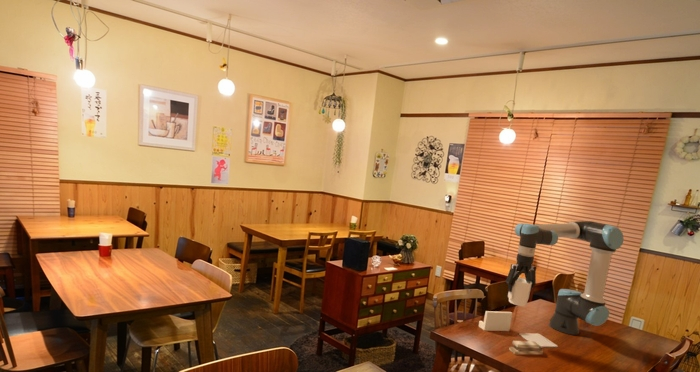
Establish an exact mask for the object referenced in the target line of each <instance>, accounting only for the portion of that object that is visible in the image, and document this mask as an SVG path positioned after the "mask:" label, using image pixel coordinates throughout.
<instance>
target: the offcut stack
mask: <svg viewBox="0 0 700 372" xmlns="http://www.w3.org/2000/svg"><path fill="white" fill-rule="evenodd" d="M511 343H512V345H513V346H509V348H508V350H509V351H510V352H511V353H512V352H513V353H512V354H514V355H543V353H544V351H543V347H541V346H540V345H538V344H537V343H536V342H533V341H528V340H512V342H511Z"/></svg>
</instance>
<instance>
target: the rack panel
mask: <svg viewBox="0 0 700 372" xmlns="http://www.w3.org/2000/svg"><path fill="white" fill-rule="evenodd" d="M512 319H513V312H511V311H497V310H495V311H491V310H490V311H489V310H485V313H484V318H483V320H479V322H478V327H479V328H480V329H482V330H483V331H484V332H485V331H488V332H490V331H492V332H493V331H494V332H496V331H497V332H500V331H501V332H502V331H503V332H510V329H511V324H512Z"/></svg>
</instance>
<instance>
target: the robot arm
mask: <svg viewBox="0 0 700 372" xmlns="http://www.w3.org/2000/svg"><path fill="white" fill-rule="evenodd" d="M514 233H515V235H516V236H517V237H519V242H518V243H519V244H518V248H517V255H516V264H513V263H512V264H510V268H509V272H508V275H507V276H506V279H505V283H506V284H507V285H508V286H507V287H508V288H507V291H508V293H507V298H508V299H509V298H510V299H513V294H514V288H515V286H513V285H514V284H515V281H517V279H518V277H519V278H520V276H521V275H522V274H524V279H526V282H527V283H529V284H530V281H531V282H532V285H531V289H530V293H531V292H532V288H534V287H535V286H536V285H537V284H536V283H537V282H536V271H537V266H534V265H533V263H534V259H535V257H534V256H535V252H536V247H537V245H544V246H545V245H546V246H554V245H557V243H558V241H559V238H570V239H572V240H575V239H577V240H581V241H585V242H588V243H589V248H590V250H591V254H590V261H589V264H588V271H587V275H586V281H585V285H584V292H583V293H582V292H581V291H578V290H574V289H569V288H560V289H559V290H558V294H557V297H556V303H555V309H554V313H553V314H552V316H551V317H550V319H549V322H548V325H549V327H550V328H552V329H554V330H556V331H558V332H561V333H564V334H567V335H572V336H576V335H579V333H580V328H579V321H578V319H580V320H582V321H584V322H586V323H587V324H590V325H592V326H595V327H597V326H601V325H603V324H604V323H606V322H607V320H608V318H609V316H610V310H609V308H608V307H607V306H606V303H607V302H606V300H605V299H604V295H605V289H606V283H607V278H608V274H609V268H610V264H611V263H610V262H611V257H612V255H613V254H615V253H616V250H618V249H620V248H621V247H622V245H623V244H624V234H623V232H622V230H621V229H620V228H619V227H617V226H614V225H611V224H606V223H601V222H596V221H592V220H578V221H569V222H567V223H544V224H543V223H541V224H531V223H523V222H522V223H521V222H520V223H518V224H516V226H515V227H514ZM530 293H529V295H530ZM529 298H530V296H529V297H528V300H529Z"/></svg>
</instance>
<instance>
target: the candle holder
mask: <svg viewBox="0 0 700 372" xmlns="http://www.w3.org/2000/svg"><path fill="white" fill-rule="evenodd" d="M531 285H532V282H531V281H530V284H529V283H527V282H526V278H525V277H524V278H522V277H520V276H519V277H518V279H517V281H515V284H514V285H513V286H515V288H514V294H513V299H510V298H509V297H508V302H509V303H510V304H513V305H515V306H518V307H527V305H528V297H529V298H530V294H529V293H531V292H530V289H531V290H532V287H531Z"/></svg>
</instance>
